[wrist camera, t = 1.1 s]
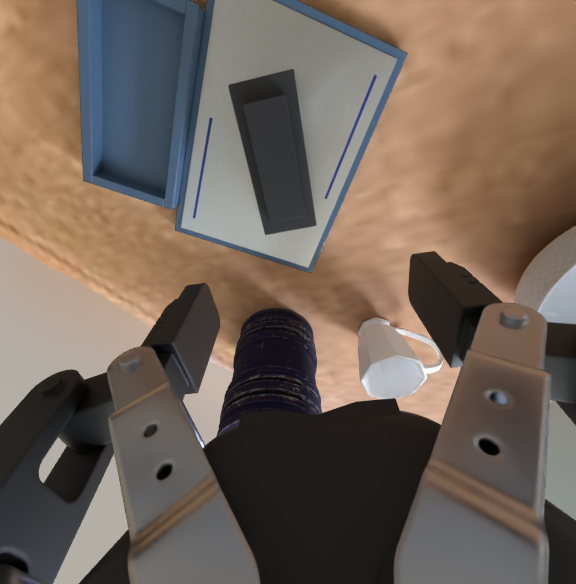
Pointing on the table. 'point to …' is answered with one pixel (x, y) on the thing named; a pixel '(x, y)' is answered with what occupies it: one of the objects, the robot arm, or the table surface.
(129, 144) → the eraser holder
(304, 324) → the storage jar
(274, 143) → the eraser
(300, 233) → the whiteboard
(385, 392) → the cup
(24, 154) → the table surface
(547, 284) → the cereal bowl
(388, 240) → the table surface
